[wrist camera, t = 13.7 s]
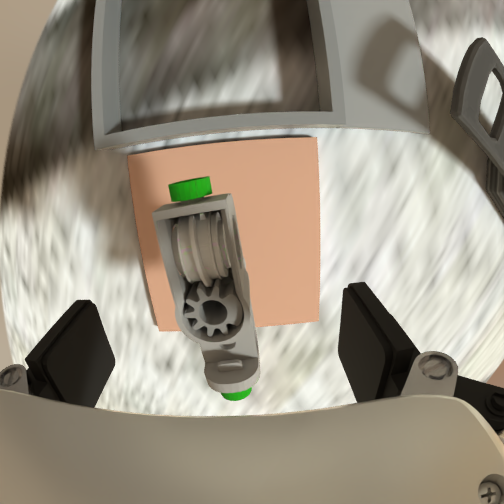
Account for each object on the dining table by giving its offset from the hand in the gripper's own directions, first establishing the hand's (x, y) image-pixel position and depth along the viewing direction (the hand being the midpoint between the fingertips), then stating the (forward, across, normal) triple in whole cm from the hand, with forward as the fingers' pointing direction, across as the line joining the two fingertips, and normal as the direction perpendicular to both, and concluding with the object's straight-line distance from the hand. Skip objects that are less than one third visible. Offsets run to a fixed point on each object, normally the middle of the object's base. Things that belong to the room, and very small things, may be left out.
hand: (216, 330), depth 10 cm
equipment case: (+12, -4, -15) cm, 20 cm away
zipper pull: (+12, -26, -5) cm, 29 cm away
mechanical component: (+11, 0, 0) cm, 11 cm away
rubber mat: (+12, 0, 0) cm, 12 cm away
